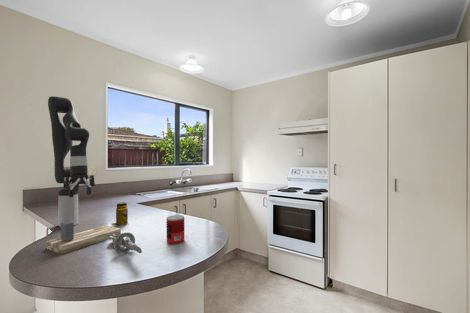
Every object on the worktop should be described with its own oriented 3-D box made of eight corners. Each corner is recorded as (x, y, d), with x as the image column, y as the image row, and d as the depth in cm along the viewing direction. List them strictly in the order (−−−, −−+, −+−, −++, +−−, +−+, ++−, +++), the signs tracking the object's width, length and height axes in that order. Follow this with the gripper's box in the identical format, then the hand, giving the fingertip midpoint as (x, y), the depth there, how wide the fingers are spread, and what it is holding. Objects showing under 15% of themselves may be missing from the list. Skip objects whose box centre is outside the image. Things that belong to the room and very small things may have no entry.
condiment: (129, 224, 132) (129, 203, 132) (112, 227, 127) (112, 205, 128) (127, 221, 138) (127, 201, 138) (111, 224, 134) (111, 203, 134)
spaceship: (125, 248, 76) (147, 233, 82) (99, 234, 102) (117, 224, 107) (135, 268, 78) (156, 252, 83) (107, 249, 103) (125, 238, 109)
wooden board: (46, 248, 97) (46, 241, 97) (105, 231, 120) (105, 225, 120) (61, 254, 91) (61, 245, 91) (120, 234, 114) (120, 228, 114)
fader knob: (60, 243, 98) (60, 223, 98) (68, 241, 101) (68, 221, 101) (65, 244, 96) (65, 224, 96) (73, 242, 99) (73, 222, 99)
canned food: (187, 239, 107) (187, 215, 107) (178, 245, 99) (177, 219, 99) (173, 237, 109) (173, 214, 110) (163, 243, 102) (162, 218, 102)
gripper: (88, 165, 129) (89, 194, 129) (59, 166, 117) (61, 198, 116) (96, 164, 126) (98, 194, 125) (68, 165, 113) (69, 198, 113)
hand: (80, 196), depth 121 cm, fingers open, 8 cm apart
